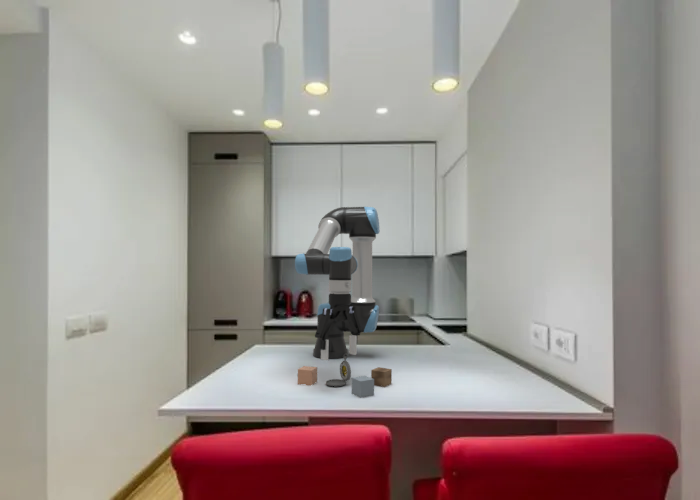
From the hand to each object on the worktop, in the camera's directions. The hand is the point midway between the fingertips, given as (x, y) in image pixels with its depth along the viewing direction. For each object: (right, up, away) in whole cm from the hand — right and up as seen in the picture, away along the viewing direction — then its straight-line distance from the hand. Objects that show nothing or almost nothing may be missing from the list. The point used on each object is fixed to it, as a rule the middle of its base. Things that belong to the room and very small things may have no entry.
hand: (339, 357), depth 150 cm
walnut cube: (+14, -9, +1) cm, 17 cm away
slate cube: (+8, -9, -11) cm, 16 cm away
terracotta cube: (-11, -9, +2) cm, 14 cm away
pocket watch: (0, -9, 0) cm, 9 cm away
